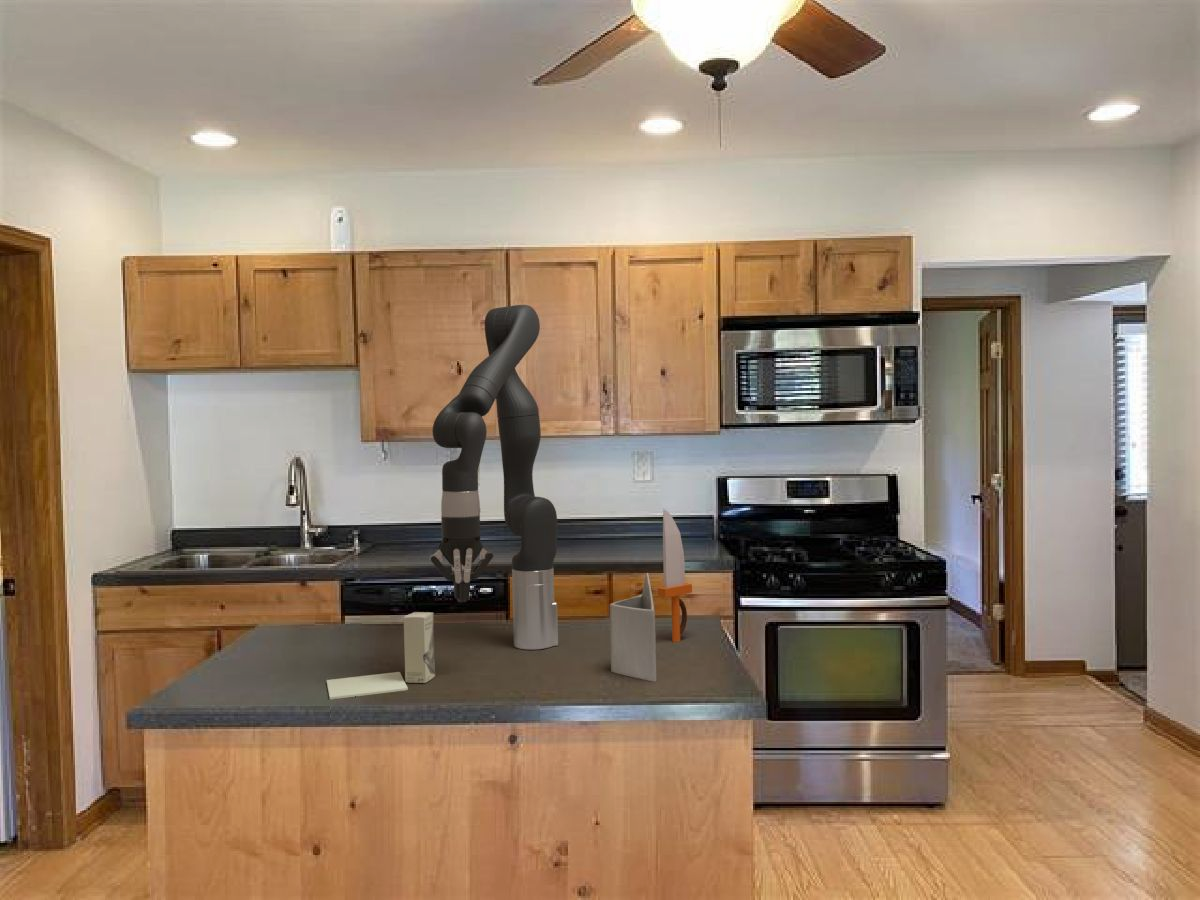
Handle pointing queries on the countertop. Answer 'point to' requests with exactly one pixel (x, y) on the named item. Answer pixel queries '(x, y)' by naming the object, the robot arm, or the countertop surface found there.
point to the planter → (634, 636)
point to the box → (419, 647)
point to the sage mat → (366, 685)
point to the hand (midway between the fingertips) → (461, 601)
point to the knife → (674, 574)
